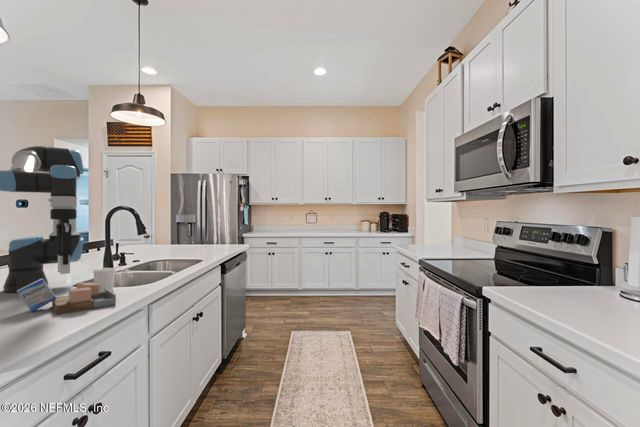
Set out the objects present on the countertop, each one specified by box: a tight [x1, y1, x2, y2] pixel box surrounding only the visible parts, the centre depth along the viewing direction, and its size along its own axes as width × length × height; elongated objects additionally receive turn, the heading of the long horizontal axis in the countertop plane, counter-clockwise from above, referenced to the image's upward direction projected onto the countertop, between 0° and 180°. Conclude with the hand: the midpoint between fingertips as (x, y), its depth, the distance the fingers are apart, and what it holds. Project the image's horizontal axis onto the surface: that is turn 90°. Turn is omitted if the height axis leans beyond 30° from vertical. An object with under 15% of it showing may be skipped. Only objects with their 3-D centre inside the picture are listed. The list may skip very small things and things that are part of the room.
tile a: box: [75, 282, 100, 295], centre depth 130 cm, size 4×6×4 cm
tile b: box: [68, 287, 91, 303], centre depth 121 cm, size 4×6×4 cm
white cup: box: [93, 267, 116, 293], centre depth 145 cm, size 8×8×10 cm
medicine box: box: [16, 278, 57, 312], centre depth 119 cm, size 8×4×9 cm, turn 133°
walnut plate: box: [51, 295, 93, 315], centre depth 123 cm, size 14×10×3 cm
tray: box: [91, 288, 117, 309], centre depth 129 cm, size 14×7×4 cm, turn 44°
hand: (63, 272), depth 121 cm, fingers open, 4 cm apart
